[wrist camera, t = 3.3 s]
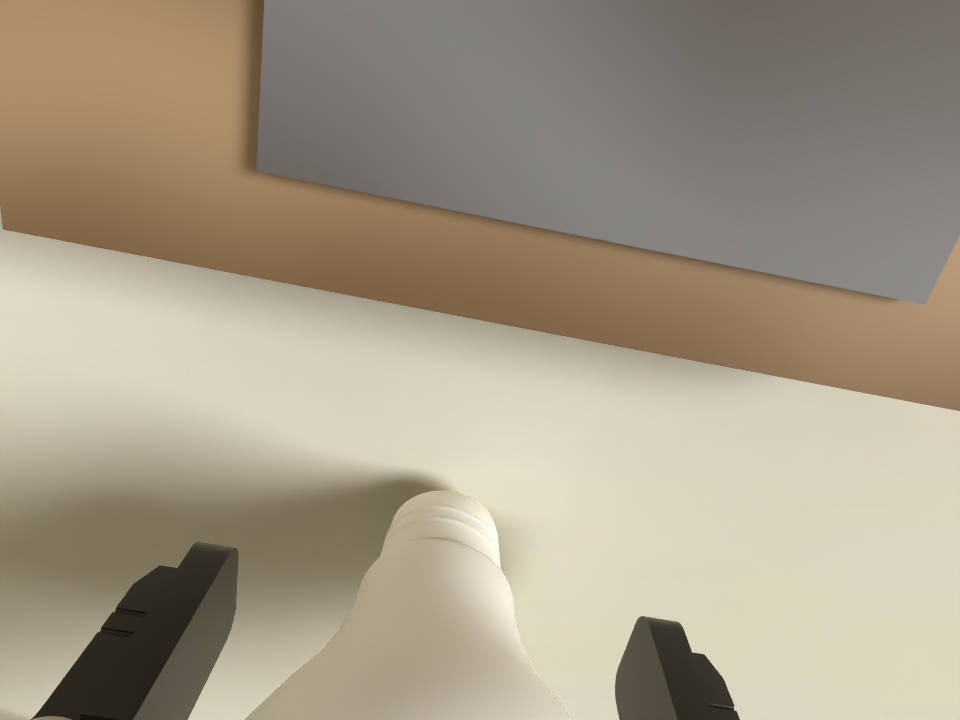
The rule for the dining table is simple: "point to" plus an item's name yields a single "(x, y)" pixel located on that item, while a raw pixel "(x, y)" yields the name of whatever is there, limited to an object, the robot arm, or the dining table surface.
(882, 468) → the dining table surface
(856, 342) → the brown wooden flat block
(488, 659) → the lightbulb
